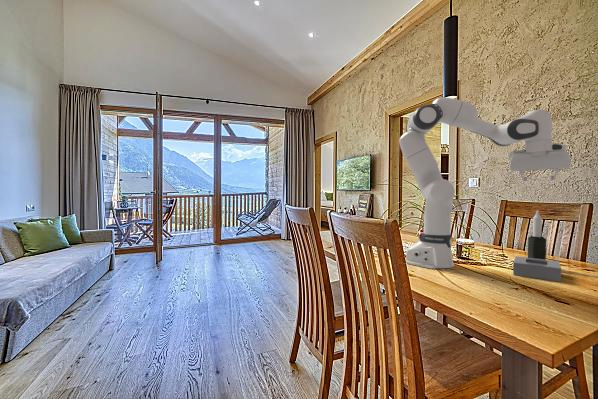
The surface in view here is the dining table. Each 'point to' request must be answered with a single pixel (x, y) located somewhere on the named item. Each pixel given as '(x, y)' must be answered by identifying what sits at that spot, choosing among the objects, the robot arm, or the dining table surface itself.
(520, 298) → the dining table surface
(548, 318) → the dining table surface
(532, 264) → the holder
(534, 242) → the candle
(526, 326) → the dining table surface
